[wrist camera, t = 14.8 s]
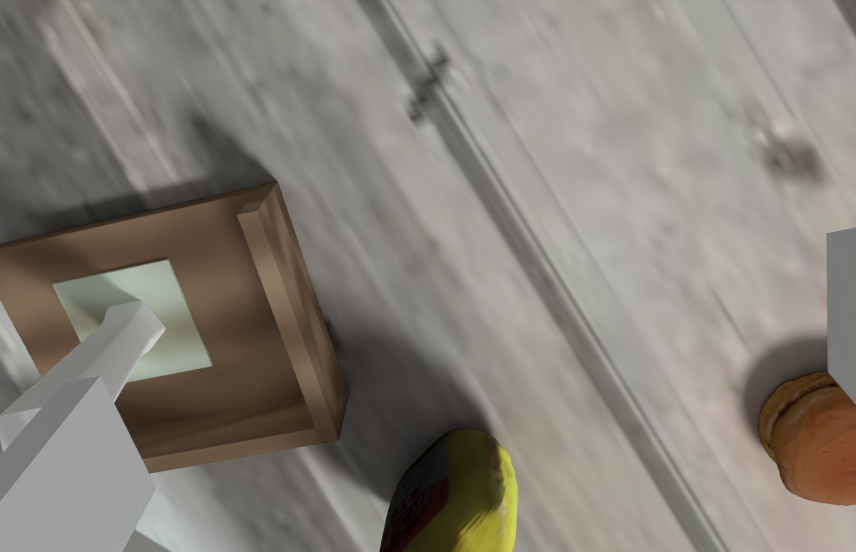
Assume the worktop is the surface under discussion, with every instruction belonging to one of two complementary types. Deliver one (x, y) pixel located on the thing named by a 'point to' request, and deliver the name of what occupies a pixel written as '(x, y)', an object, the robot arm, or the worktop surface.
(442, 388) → the worktop surface
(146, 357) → the brown wooden flat tray
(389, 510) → the bottle
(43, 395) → the white faceted vase
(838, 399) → the burger
